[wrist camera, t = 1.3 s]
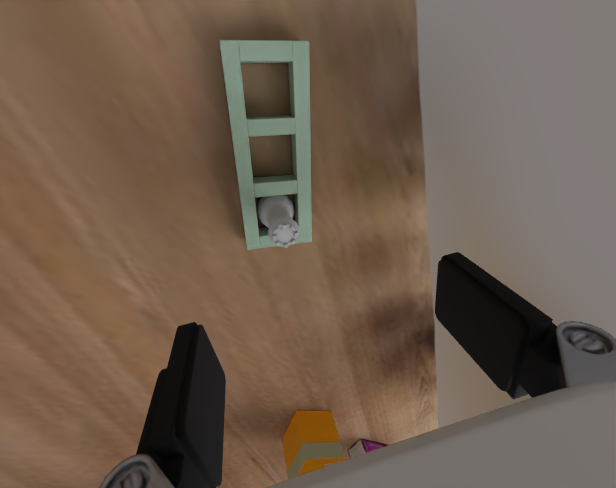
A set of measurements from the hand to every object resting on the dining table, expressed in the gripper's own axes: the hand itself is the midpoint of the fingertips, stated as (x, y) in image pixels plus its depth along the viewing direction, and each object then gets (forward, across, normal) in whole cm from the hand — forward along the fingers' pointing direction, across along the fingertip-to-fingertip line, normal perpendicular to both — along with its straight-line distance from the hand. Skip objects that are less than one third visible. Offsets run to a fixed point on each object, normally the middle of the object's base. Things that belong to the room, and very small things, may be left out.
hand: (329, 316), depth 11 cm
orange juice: (+27, +4, +52) cm, 58 cm away
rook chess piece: (+26, 0, +5) cm, 26 cm away
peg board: (+26, -1, -1) cm, 26 cm away
